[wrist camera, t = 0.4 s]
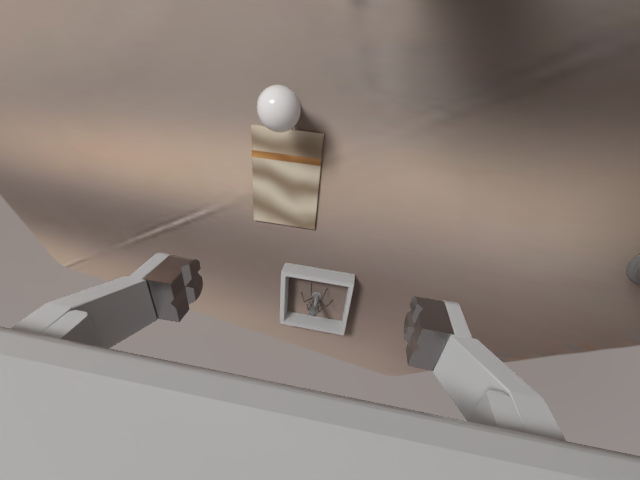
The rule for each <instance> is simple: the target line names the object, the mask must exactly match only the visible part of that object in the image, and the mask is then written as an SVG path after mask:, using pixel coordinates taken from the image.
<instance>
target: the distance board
mask: <svg viewBox="0 0 640 480" xmlns="http://www.w3.org/2000/svg"><path fill="white" fill-rule="evenodd" d="M251 127H252V164H253V201H254V220H257V221H264V222H270V223H276V224H282V225H289V226H295V227H301V228H308V229H315V222H316V212H317V201H318V191H319V181H320V171H321V160H322V150H323V140H324V133H316V132H309V131H301V130H293V129H290V130H289V131H286V132H274V131H271V130H269V129H268V128H266V127H265V126H262V125H255V124H252V125H251Z"/></svg>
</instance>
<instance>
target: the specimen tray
mask: <svg viewBox="0 0 640 480" xmlns="http://www.w3.org/2000/svg"><path fill="white" fill-rule="evenodd" d="M289 277H294V278H300V279H305V280H311V281H317V282H323V283H328V284H334V285H340V286H346V287H348V290H347V295H346V300H345V306H344V311H343V316H342V321H339V320H333V319H328V318H322V317H317V316H315V317H313V316H311V315H306V314H301V313H295V312H290V311H287V307H288V286H289ZM354 280H355V274H350V273H344V272H338V271H332V270H326V269H320V268H314V267H308V266H302V265H296V264H291V263H285V265H284V267H283V269H282V271H281V296H280V323H281V324H286V325H291V326H297V327H302V328H307V329H312V330H318V331H323V332H328V333H334V334H339V335H344V332H345V327H346V322H347V317H348V312H349V307H350V303H351V298H352V293H353V288H354Z"/></svg>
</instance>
